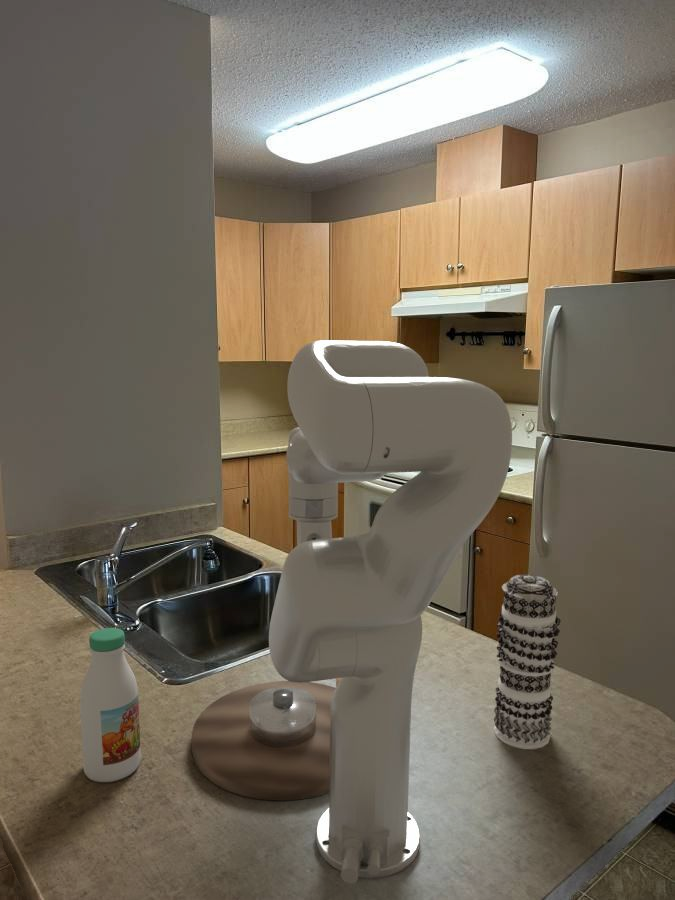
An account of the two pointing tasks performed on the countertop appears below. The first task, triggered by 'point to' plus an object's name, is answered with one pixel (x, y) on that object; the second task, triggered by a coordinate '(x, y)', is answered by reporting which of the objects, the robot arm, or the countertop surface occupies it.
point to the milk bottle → (109, 710)
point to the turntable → (262, 748)
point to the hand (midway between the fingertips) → (313, 621)
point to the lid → (282, 717)
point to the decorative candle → (526, 662)
